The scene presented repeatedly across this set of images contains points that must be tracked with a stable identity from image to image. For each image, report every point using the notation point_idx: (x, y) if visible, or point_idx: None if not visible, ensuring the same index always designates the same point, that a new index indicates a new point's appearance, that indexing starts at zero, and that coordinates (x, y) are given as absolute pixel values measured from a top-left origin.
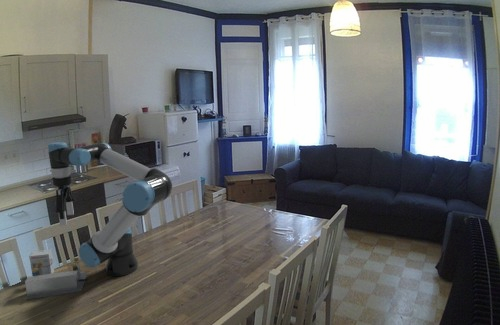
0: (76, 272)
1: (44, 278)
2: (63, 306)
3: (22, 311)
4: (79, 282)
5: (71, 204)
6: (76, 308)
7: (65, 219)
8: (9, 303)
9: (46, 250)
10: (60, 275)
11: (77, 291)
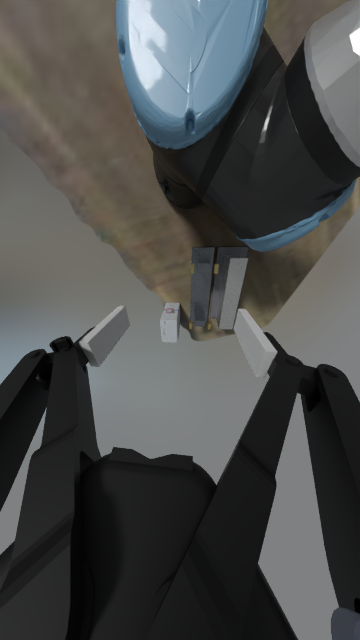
0: (239, 258)
1: (235, 307)
2: (278, 266)
3: (259, 314)
4: (219, 255)
5: (98, 336)
6: (298, 243)
7: (254, 324)
8: (232, 330)
9: (162, 325)
10: (237, 285)
11: (246, 253)
